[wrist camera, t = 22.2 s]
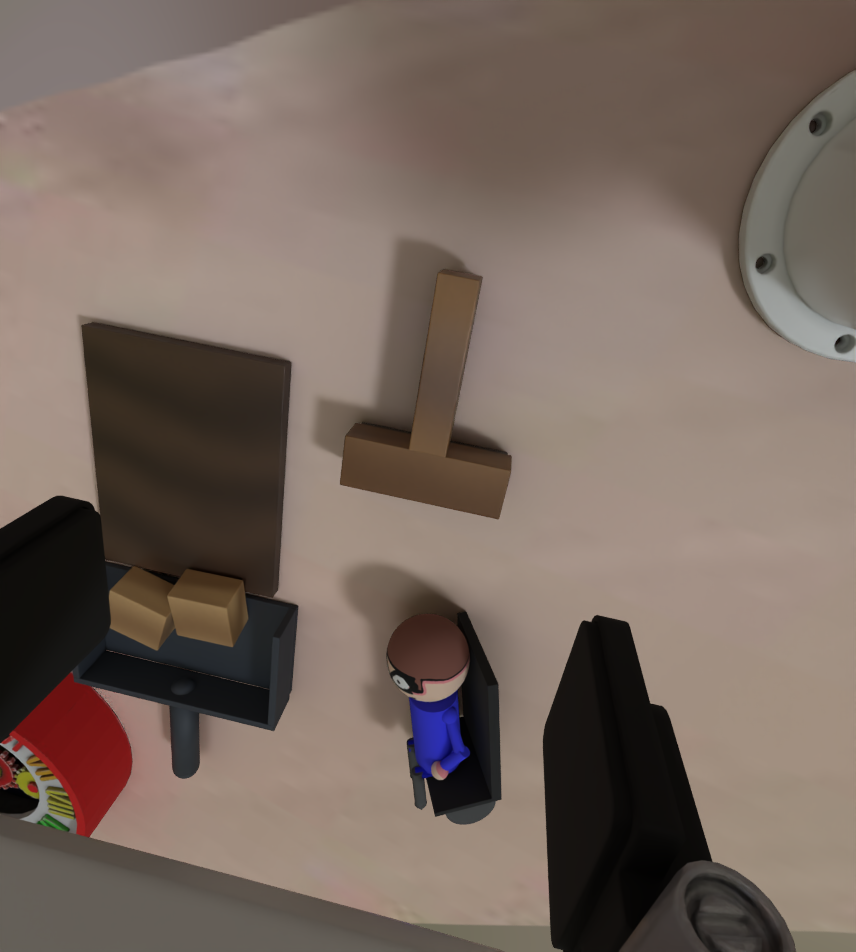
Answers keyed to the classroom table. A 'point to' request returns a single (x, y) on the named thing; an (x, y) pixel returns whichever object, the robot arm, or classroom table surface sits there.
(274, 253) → the classroom table surface
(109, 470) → the tray
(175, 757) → the dustpan
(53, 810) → the toy clock
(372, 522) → the classroom table surface
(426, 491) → the brush
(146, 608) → the cork chip
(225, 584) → the cork chip
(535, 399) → the classroom table surface
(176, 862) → the robot arm
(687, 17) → the classroom table surface
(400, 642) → the character figurine
